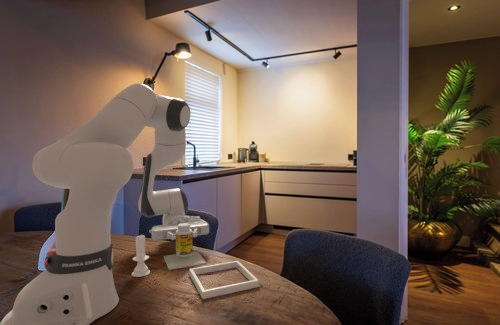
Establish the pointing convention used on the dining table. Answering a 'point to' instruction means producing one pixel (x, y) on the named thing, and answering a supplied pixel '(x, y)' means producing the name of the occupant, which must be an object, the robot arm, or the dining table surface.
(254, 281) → the white square frame
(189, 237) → the supplement bottle
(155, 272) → the dining table surface
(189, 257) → the mat
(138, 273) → the candle
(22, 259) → the dining table surface
